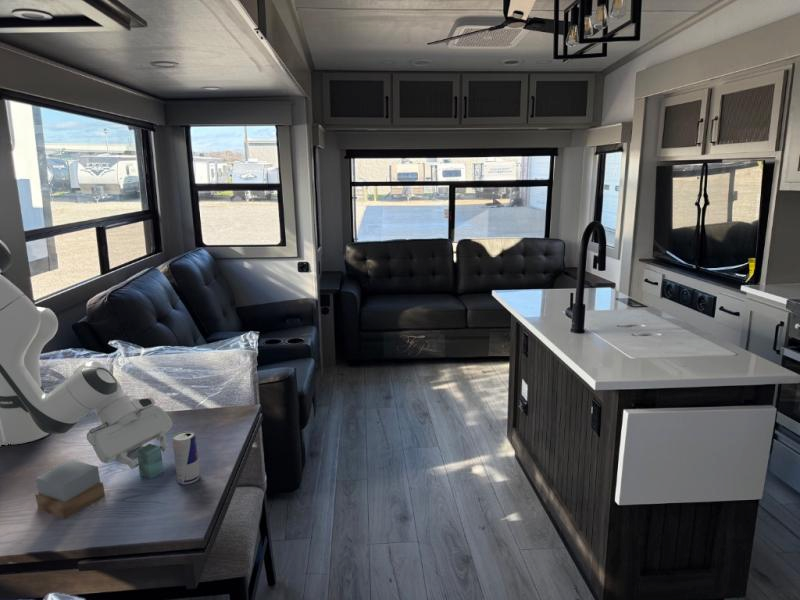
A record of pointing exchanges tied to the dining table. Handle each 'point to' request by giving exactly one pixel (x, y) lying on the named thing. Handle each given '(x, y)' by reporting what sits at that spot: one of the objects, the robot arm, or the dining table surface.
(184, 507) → the dining table surface
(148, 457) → the block
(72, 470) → the tower top
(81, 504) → the tower base
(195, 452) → the energy drink
